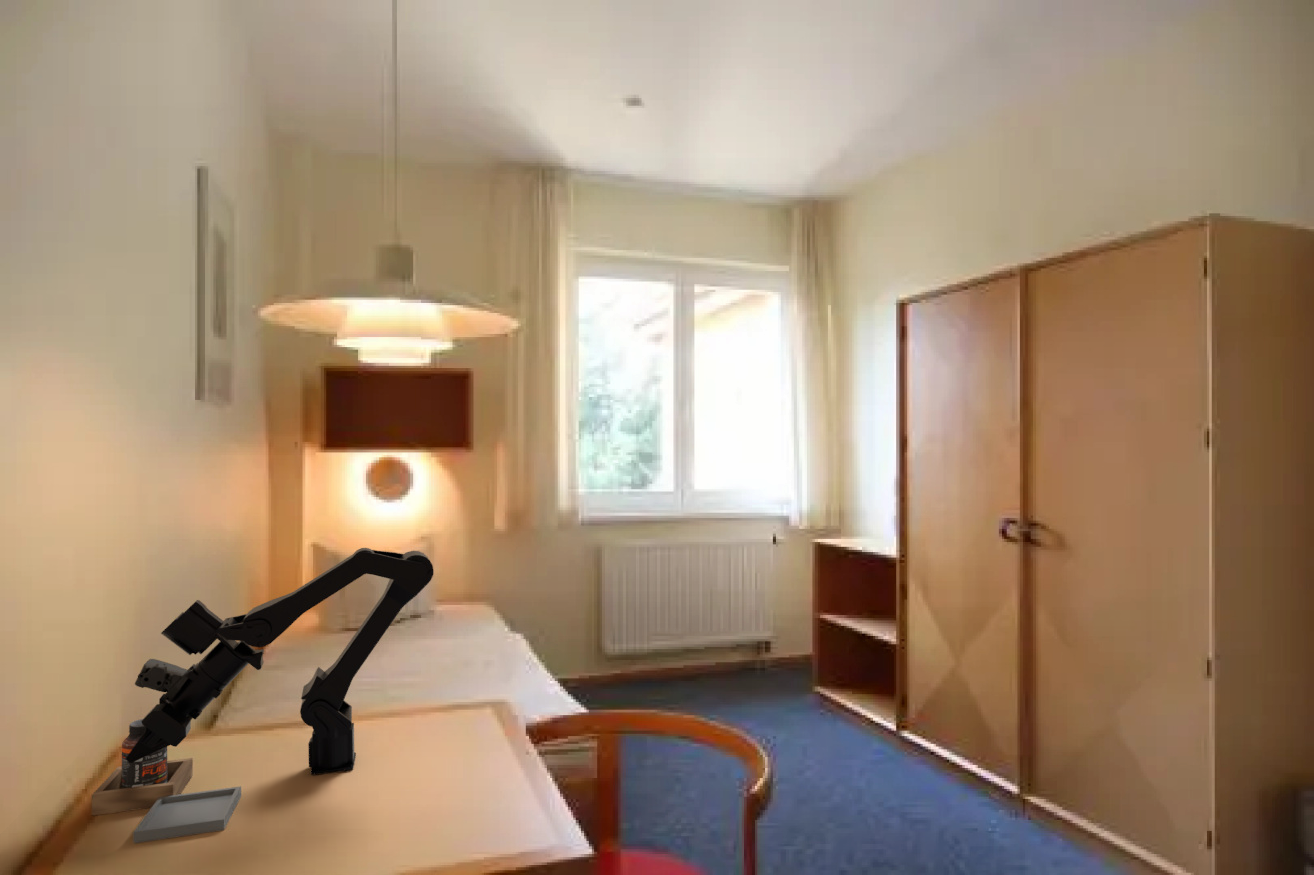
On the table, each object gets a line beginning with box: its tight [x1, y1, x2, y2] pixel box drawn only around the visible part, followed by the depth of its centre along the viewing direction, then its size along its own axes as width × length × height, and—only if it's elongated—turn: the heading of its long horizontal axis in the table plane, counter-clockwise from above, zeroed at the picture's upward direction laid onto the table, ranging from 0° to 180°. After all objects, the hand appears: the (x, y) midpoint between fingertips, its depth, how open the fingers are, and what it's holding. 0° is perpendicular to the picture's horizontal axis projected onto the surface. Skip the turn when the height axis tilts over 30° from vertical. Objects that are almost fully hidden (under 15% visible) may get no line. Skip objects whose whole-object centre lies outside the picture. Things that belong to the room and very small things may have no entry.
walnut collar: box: [91, 757, 194, 816], centre depth 120 cm, size 10×10×3 cm
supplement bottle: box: [121, 718, 168, 789], centre depth 120 cm, size 6×6×11 cm
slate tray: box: [132, 785, 242, 844], centre depth 112 cm, size 11×11×2 cm
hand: (133, 753), depth 120 cm, fingers closed on supplement bottle, 6 cm apart
